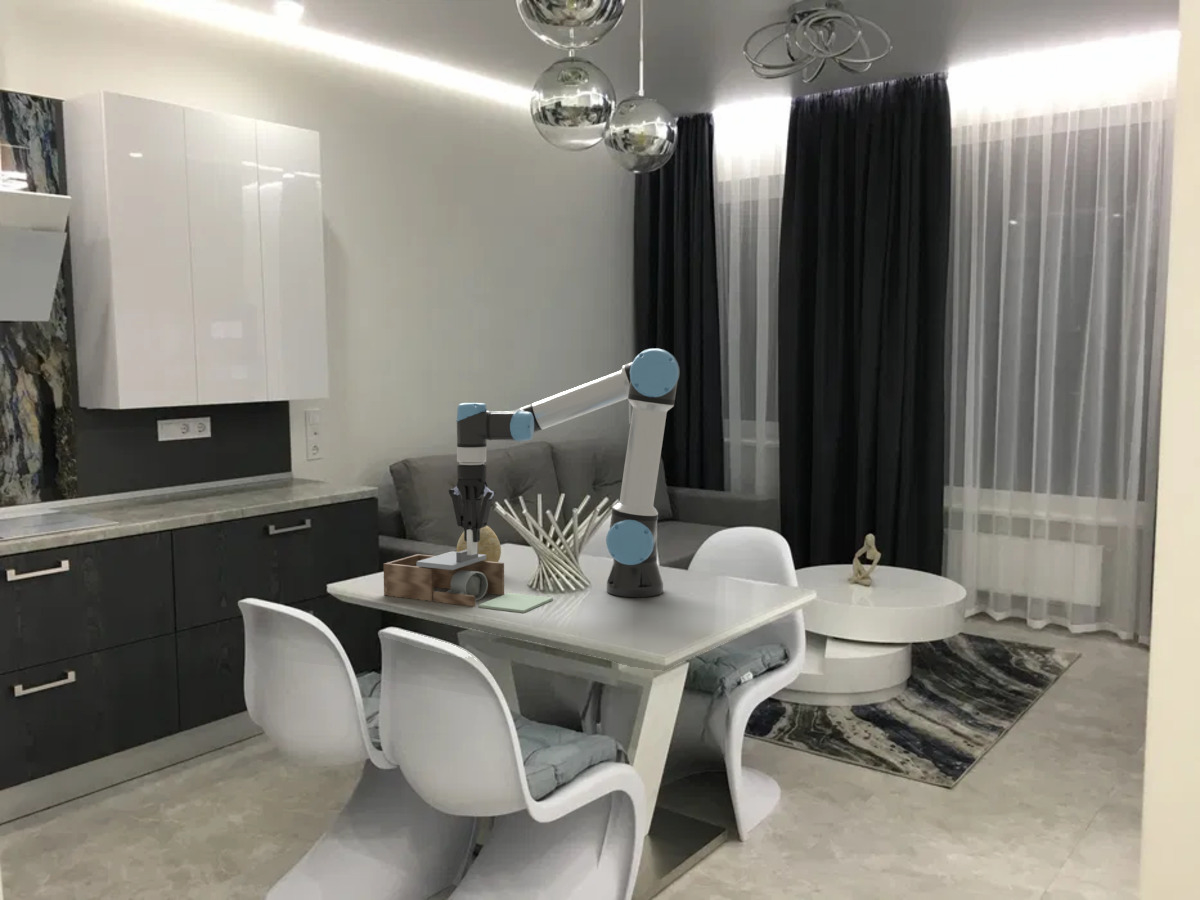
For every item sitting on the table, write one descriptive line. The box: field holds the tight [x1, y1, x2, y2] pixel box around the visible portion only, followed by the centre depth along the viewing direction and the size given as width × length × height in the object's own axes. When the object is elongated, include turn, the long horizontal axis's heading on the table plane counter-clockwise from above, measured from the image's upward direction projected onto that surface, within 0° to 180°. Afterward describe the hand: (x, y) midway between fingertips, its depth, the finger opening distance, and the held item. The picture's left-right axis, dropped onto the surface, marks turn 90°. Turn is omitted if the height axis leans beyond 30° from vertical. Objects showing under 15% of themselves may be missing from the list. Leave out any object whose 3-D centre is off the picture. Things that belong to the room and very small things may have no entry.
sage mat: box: [477, 592, 554, 614], centre depth 253 cm, size 13×15×1 cm
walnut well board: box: [383, 553, 505, 607], centre depth 262 cm, size 28×15×8 cm, turn 65°
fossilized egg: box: [455, 525, 502, 562], centre depth 287 cm, size 13×13×15 cm
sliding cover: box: [416, 548, 486, 570], centre depth 260 cm, size 11×16×4 cm
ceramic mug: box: [446, 570, 488, 602], centre depth 258 cm, size 10×8×7 cm
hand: (472, 554), depth 257 cm, fingers closed
